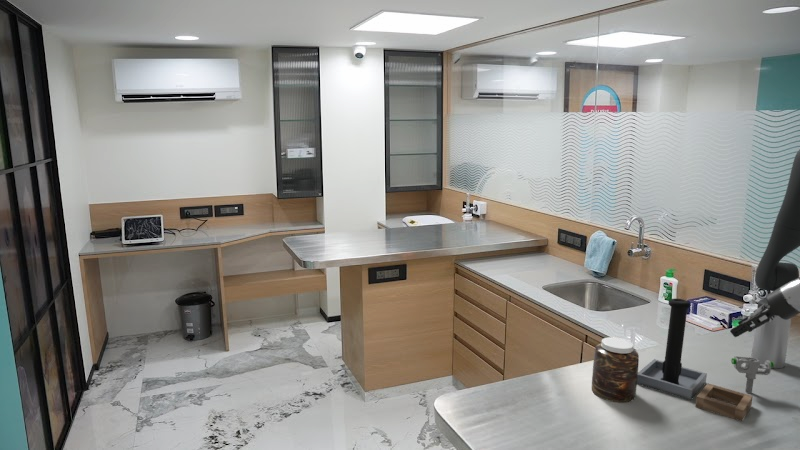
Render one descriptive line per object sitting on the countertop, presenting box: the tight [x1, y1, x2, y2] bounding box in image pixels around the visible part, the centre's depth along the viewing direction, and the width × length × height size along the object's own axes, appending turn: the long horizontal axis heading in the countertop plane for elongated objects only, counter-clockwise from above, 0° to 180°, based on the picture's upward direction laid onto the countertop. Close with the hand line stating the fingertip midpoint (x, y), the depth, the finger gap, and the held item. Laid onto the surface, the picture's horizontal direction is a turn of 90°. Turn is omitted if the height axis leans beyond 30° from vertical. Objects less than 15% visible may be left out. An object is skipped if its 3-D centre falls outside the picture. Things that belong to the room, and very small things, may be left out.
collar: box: [695, 383, 753, 422], centre depth 151 cm, size 11×11×3 cm
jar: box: [591, 336, 640, 403], centre depth 157 cm, size 12×12×15 cm
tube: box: [660, 298, 691, 385], centre depth 162 cm, size 25×6×6 cm
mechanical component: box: [730, 356, 774, 395], centre depth 159 cm, size 3×10×10 cm, turn 78°
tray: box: [637, 358, 708, 401], centre depth 165 cm, size 15×15×3 cm
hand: (736, 329), depth 152 cm, fingers open, 8 cm apart
